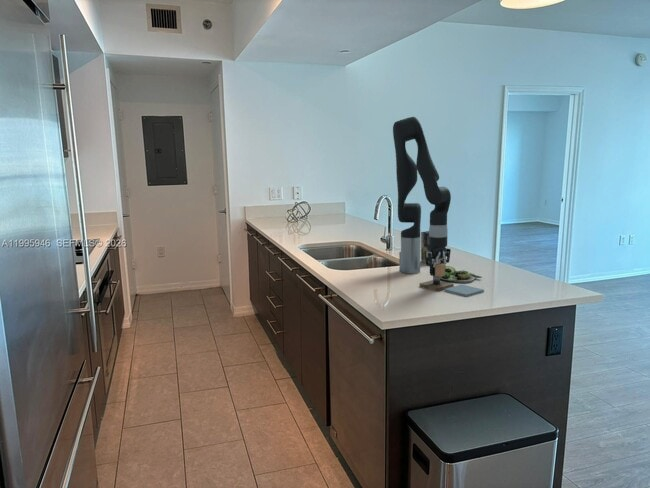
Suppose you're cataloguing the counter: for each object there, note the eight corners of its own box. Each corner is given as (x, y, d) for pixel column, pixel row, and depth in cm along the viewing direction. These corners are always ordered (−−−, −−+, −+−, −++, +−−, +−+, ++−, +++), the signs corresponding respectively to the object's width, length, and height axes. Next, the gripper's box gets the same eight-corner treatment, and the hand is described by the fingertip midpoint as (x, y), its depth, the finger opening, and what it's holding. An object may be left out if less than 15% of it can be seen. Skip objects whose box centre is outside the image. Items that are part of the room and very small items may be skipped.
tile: (444, 291, 195) (444, 288, 195) (461, 286, 201) (461, 284, 201) (466, 297, 186) (466, 294, 186) (483, 292, 192) (484, 289, 192)
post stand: (419, 286, 203) (419, 273, 202) (435, 282, 208) (435, 269, 207) (437, 291, 195) (437, 277, 193) (453, 287, 200) (453, 273, 199)
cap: (437, 277, 197) (438, 265, 196) (428, 274, 202) (428, 263, 201) (447, 275, 200) (447, 264, 199) (438, 272, 204) (438, 261, 204)
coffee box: (440, 263, 246) (441, 232, 244) (430, 264, 244) (430, 233, 241) (430, 260, 255) (431, 230, 252) (420, 261, 252) (420, 231, 250)
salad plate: (485, 276, 218) (485, 267, 217) (476, 286, 203) (477, 275, 202) (443, 273, 227) (443, 263, 227) (432, 281, 212) (432, 271, 211)
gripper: (433, 238, 191) (433, 279, 194) (456, 234, 199) (455, 273, 202) (419, 236, 196) (419, 275, 200) (442, 232, 205) (441, 270, 208)
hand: (437, 274), depth 201 cm, fingers closed on cap, 5 cm apart
